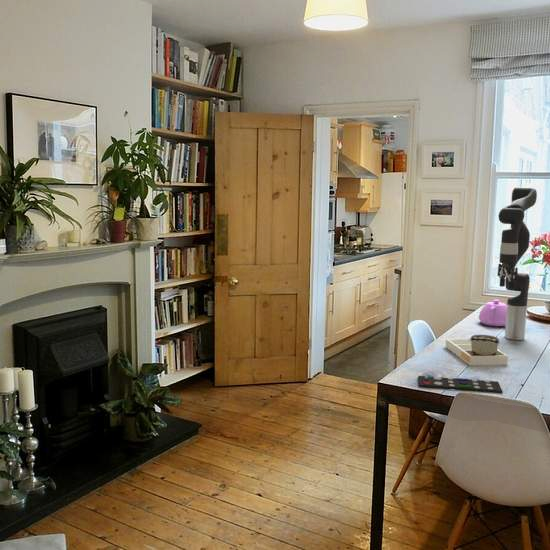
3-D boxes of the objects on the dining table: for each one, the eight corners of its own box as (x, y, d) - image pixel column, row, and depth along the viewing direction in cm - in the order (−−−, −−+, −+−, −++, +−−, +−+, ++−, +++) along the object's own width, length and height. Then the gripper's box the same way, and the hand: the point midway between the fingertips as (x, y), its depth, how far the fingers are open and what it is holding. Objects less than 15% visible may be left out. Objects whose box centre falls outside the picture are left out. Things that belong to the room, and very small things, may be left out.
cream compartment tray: (445, 347, 285) (445, 338, 284) (479, 346, 286) (479, 338, 286) (469, 365, 257) (469, 356, 256) (507, 364, 258) (508, 355, 257)
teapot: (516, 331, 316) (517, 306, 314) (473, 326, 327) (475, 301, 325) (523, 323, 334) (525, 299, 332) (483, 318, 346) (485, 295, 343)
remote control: (418, 379, 240) (418, 374, 240) (497, 385, 234) (498, 380, 234) (418, 388, 229) (419, 383, 229) (502, 395, 223) (502, 389, 223)
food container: (499, 358, 264) (500, 336, 263) (498, 362, 259) (500, 339, 257) (469, 354, 269) (471, 333, 267) (468, 358, 263) (470, 336, 262)
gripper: (524, 254, 264) (521, 290, 266) (509, 250, 278) (507, 285, 280) (508, 254, 263) (505, 291, 266) (493, 250, 277) (491, 285, 280)
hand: (506, 288), depth 273 cm, fingers open, 8 cm apart
